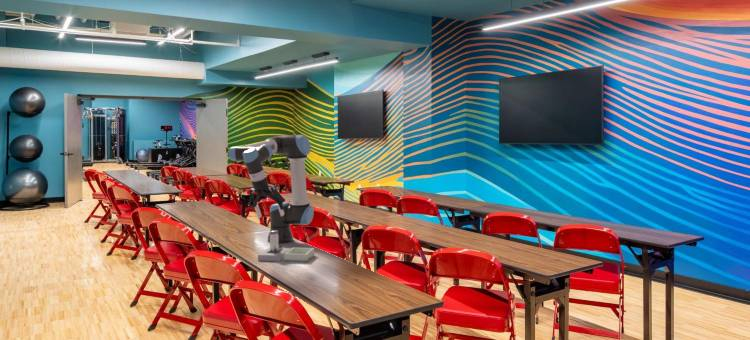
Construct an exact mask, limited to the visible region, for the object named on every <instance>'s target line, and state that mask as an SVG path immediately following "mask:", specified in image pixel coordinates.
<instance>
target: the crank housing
mask: <svg viewBox="0 0 750 340" xmlns="http://www.w3.org/2000/svg"><path fill="white" fill-rule="evenodd" d="M290 249H291V248H290V247H289V248H288V247H283V245H279V253H270V247H268V248H267V249H264V251H262V252H260V253H258V254H257V261H261V262H282V261H284V253H286V252H287V251H288V250H290Z"/></svg>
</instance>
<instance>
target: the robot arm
mask: <svg viewBox="0 0 750 340" xmlns="http://www.w3.org/2000/svg"><path fill="white" fill-rule="evenodd" d="M310 142H311V141H310V140H309V138H308V137H307V136H306V135H304V134H283V135H281V134H280V135H276V136H272V137H268V138H266V139H265V140H263V141H259V142H255V143H250V144H246V145H242V146H232V147H230V148H229V149H228V152H227V153H228V154H227V155H228V158H229V160H230V161H233V162H243V163H244V164H245V167H246V170H247V172H248V175H249V178H250V181H251V185H252V187H251V188H250V189H249V190H248V191H249V201H248V206H249V207H252V208H253V211H254V213H256V216H257V219H261V218H262V216H263V215H262V212H261V210H260V206H259V205H258V202H259V201H260V197H267V198H270V199H271V200H272V201H274V202H275V203H273V204H271V205H270V206H269V217H270V218H269V220H270V221H269V222H270V228H269V232H268V236H267V241H268V243H270V231H272V230H278V243H279V244H284V243H290V242H293V241H294V236H293V233H292V229H291V227H290V226H291V225H297V226H298V225H300V226H308V225H309V224H311V222H312V221H313V218H314V214H315V213H314V212H315V210H314V206H312V205H310V201H309V200H308V197H307V196H308V195H307V179H306V178H307V177H306V159H308V155H310V154H311V143H310ZM272 155H284V156H285V155H286V156H287V157H286V158H287V159H288V160H289V164H290V165H289V166H290V180H291V181H290V183H291V184H290V185H291V196H292V198H291V202H289V201H286V199H285V198H284V197H283V196H282V195H281V193H280V192H279V191H278V189H277V188H276V187H275V185H272V186H269V182H268V179H267V178H268V177H266V173H265V170H264V168H263V163H264V162H266V161H267V160H269V159H270V157H271V156H272ZM255 194H256V195H255Z"/></svg>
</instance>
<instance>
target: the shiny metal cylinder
mask: <svg viewBox="0 0 750 340" xmlns="http://www.w3.org/2000/svg"><path fill="white" fill-rule="evenodd" d="M269 232H270V242H269V248H270V253H279V246H280V245H279V244H280V243H278V230H272V231H270V230H269Z"/></svg>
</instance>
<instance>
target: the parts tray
mask: <svg viewBox="0 0 750 340" xmlns="http://www.w3.org/2000/svg"><path fill="white" fill-rule="evenodd" d="M314 257H315V248H314V247H291V248H290V250H288V251H287V252H286V253H284V259H283V262H284V263H285V262H286V263H308V262H309V261H310V260H311V259H312V258H314Z"/></svg>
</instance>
